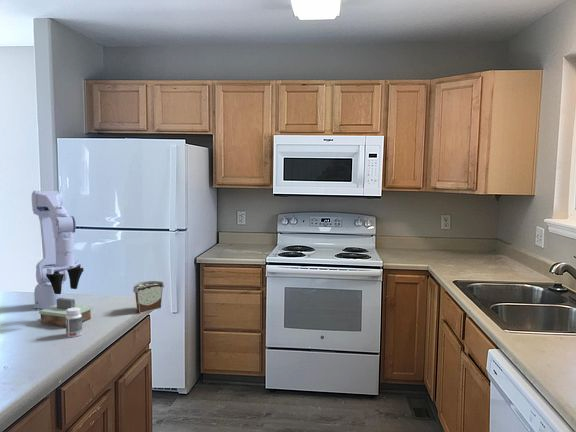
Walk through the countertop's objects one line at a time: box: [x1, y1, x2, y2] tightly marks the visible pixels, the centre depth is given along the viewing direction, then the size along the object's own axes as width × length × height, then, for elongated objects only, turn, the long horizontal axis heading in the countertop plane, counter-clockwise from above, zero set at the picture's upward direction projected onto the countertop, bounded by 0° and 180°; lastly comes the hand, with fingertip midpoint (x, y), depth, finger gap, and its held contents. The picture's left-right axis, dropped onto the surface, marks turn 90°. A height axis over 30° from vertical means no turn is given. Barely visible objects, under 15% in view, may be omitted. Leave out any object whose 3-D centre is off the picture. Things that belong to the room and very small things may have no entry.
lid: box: [38, 297, 93, 317], centre depth 165 cm, size 13×11×4 cm
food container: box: [132, 280, 165, 314], centre depth 181 cm, size 12×6×10 cm, turn 141°
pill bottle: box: [65, 307, 83, 338], centre depth 152 cm, size 5×5×8 cm
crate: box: [40, 309, 92, 328], centre depth 165 cm, size 12×10×4 cm
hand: (65, 291), depth 165 cm, fingers open, 7 cm apart
